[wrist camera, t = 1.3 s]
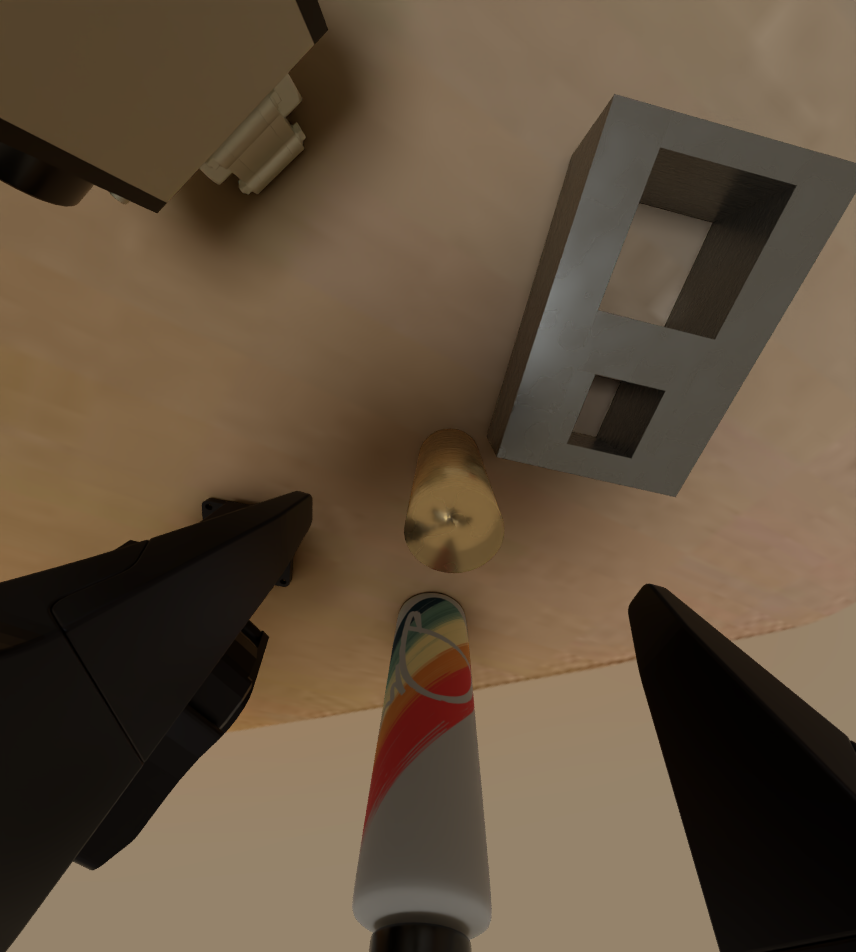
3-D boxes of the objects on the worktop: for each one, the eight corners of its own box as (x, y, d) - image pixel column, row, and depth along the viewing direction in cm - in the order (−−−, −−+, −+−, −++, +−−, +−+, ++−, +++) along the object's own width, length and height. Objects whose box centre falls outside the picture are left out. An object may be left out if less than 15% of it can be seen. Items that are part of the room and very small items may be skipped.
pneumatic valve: (386, 98, 14) (208, -695, 3) (212, 264, 17) (-196, 124, 6) (307, -60, 13) (-561, -2657, 2) (128, 153, 16) (-637, -311, 5)
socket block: (634, 469, 21) (675, 496, 17) (486, 436, 20) (496, 456, 17) (768, 209, 15) (870, 167, 12) (571, 155, 15) (614, 94, 11)
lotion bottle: (438, 579, 25) (430, 1246, 7) (479, 623, 27) (565, 1257, 8) (384, 611, 26) (252, 1225, 8) (425, 650, 28) (395, 1239, 10)
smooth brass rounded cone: (470, 491, 22) (487, 581, 14) (413, 478, 22) (396, 562, 13) (486, 436, 20) (517, 500, 12) (425, 422, 20) (415, 477, 12)
